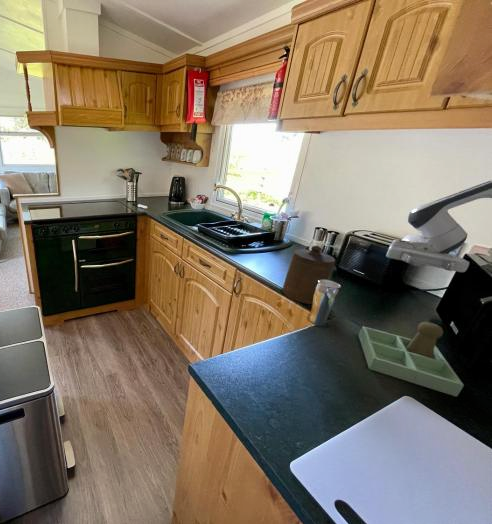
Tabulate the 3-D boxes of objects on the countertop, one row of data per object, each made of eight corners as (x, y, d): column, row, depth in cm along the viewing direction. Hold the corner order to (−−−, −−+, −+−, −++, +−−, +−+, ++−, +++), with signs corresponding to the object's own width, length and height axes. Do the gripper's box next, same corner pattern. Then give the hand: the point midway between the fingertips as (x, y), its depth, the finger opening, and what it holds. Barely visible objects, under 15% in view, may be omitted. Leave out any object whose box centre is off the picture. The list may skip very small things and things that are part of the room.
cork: (412, 360, 83) (428, 329, 79) (398, 347, 89) (413, 317, 85) (435, 364, 83) (453, 332, 79) (420, 351, 88) (436, 320, 84)
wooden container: (328, 299, 119) (345, 249, 111) (309, 307, 111) (326, 254, 103) (294, 285, 130) (308, 238, 122) (274, 291, 123) (288, 242, 115)
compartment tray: (430, 355, 88) (435, 345, 87) (456, 397, 73) (464, 385, 71) (358, 335, 96) (362, 326, 94) (369, 369, 80) (374, 358, 79)
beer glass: (309, 314, 107) (321, 277, 101) (330, 322, 102) (344, 284, 97) (302, 320, 102) (315, 282, 97) (324, 329, 98) (338, 290, 92)
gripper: (455, 269, 99) (470, 282, 88) (382, 254, 109) (386, 265, 98) (464, 252, 96) (481, 263, 85) (388, 238, 106) (394, 247, 95)
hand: (430, 264), depth 92 cm, fingers open, 8 cm apart
